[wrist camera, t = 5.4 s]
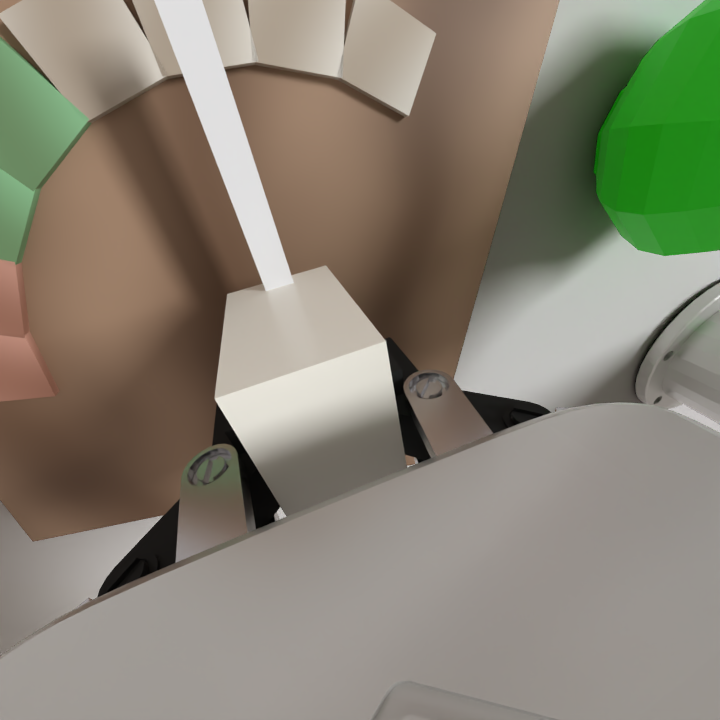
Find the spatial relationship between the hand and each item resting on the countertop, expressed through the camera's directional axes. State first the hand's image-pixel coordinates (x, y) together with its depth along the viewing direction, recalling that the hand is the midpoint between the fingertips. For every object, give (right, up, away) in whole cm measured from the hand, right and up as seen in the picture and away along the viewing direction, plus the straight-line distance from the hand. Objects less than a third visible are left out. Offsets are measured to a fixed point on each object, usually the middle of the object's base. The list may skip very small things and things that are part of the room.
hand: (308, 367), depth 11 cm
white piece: (-1, +3, 0) cm, 3 cm away
